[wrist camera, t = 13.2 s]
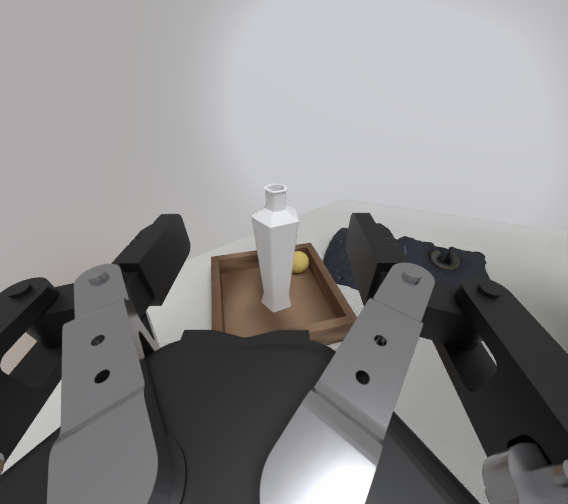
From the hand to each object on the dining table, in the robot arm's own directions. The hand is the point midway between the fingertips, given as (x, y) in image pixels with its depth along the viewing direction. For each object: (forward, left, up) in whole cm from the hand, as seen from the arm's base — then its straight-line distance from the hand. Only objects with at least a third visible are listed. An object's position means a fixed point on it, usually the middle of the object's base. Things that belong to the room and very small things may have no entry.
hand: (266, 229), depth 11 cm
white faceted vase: (-3, -10, -17) cm, 20 cm away
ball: (-7, -15, -17) cm, 24 cm away
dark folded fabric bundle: (-23, -12, -18) cm, 32 cm away
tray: (-3, -11, -18) cm, 21 cm away
